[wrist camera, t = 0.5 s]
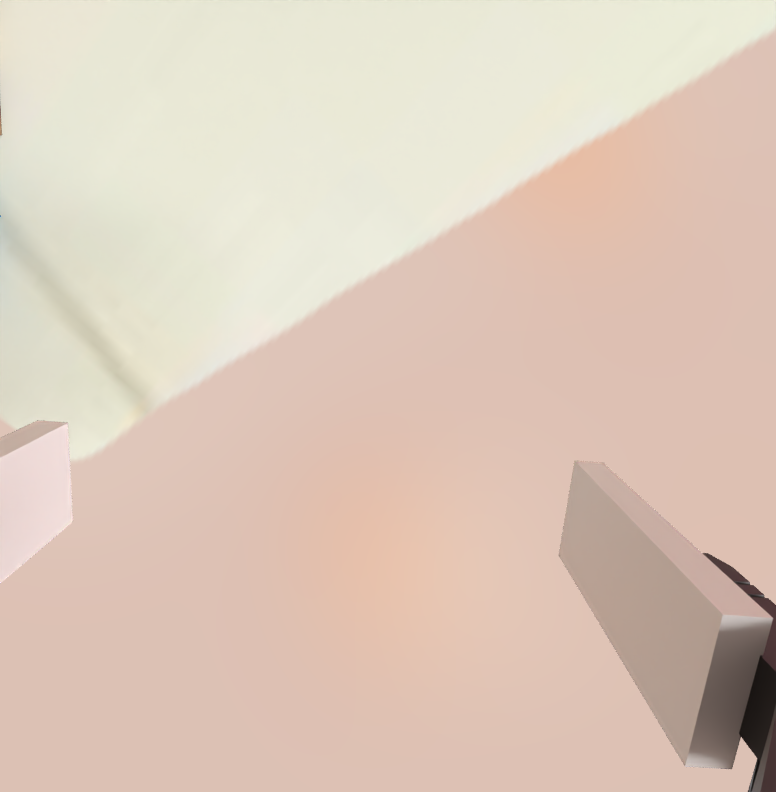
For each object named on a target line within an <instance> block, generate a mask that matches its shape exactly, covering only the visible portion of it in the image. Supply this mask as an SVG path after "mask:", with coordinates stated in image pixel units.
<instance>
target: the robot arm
mask: <svg viewBox="0 0 776 792" xmlns="http://www.w3.org/2000/svg"><path fill="white" fill-rule="evenodd" d="M71 494H72V493H71V473H70V454H69V435H68V423H65V422H51V421H38V420H37V421H35V422H33V423H31V424H29V425H27V426H25V427H22V428H20V429H18V430H16V431H14V432H12V433H10V434H7V435H5V436H3V437H1V438H0V583H1V582H2V581H4V580H5V579H6V578H7V577H8V576H10V575H11V574H12V573H13V572H14V571H16V570H17V569H18V568H19V567H20V566H21V565H23V564H24V563H25V562H26V561H27V560H29V559H30V558H31V557H32V556H33V555H34V554H36V553H37V552H38V551H39V550H40V549H41V548H43V547H44V546H45V545H46V544H47V543H49V542H50V541H51V540H52V539H53V538H54V537H55V536H57V535H58V534H59V533H60V532H61V531H63V530H64V529H65V528H66V527H67V526H69V525H70V524H71V523H72V522H73V512H72V495H71ZM559 557H560V558H561V560H562V562H563V563H564V565H565V567H566V568H567V570H568V572H569V573H570V575H571V577H572V578H573V580H574V582H575V584H576V585H577V587H578V588H579V590H580V592H581V594H582V595H583V597H584V598H585V600H586V602H587V604H588V605H589V607H590V608H591V610H592V612H593V613H594V615H595V617H596V619H597V620H598V622H599V623H600V625H601V627H602V629H603V630H604V632H605V634H606V635H607V637H608V639H609V640H610V642H611V644H612V645H613V647H614V649H615V650H616V652H617V654H618V655H619V657H620V659H621V660H622V662H623V664H624V665H625V667H626V669H627V670H628V672H629V674H630V675H631V677H632V679H633V680H634V682H635V684H636V685H637V687H638V689H639V690H640V692H641V694H642V695H643V697H644V699H645V700H646V702H647V704H648V705H649V707H650V709H651V710H652V712H653V714H654V715H655V717H656V719H657V720H658V722H659V724H660V725H661V727H662V729H663V730H664V732H665V734H666V736H667V737H668V739H669V741H670V742H671V744H672V745H673V747H674V749H675V751H676V752H677V754H678V755H679V757H680V759H681V761H682V762H683V764H684V766H686V767H703V768H704V767H705V768H721V769H732V767H733V763H734V760H735V756H736V752H737V749H738V745H739V741H740V738H741V737H742V738H743V740H744V741H745V742H746V744H747V745H748V746H749V748H750V749H751V750H752V752H753V753H754V754H755V756H756V757H757V762H756V765H755V769H754V772H753V776H752V780H751V783H750V786H749V790H748V792H776V605H775V604H774V603H773V602H772V601H771V600H769V599H768V598H765V597H764V594H763V593H761V592H760V591H759V590H758V589H757V588H756V587H755V586H753V585H750V582H749V581H748V580H747V579H745V578H744V577H743V576H742V575H741V574H740V573H739V572H737V571H736V570H735V569H734V568H733V567H731V566H729V565H728V564H726V563H724V562H722V561H721V560H719V559H717V558H715V557H713V556H712V555H710V554H708V553H701V552H700V551H699V550H698V549H697V548H696V547H695V546H694V545H693V544H692V543H690V542H689V541H688V540H687V539H686V538H685V537H684V536H683V535H682V534H681V533H679V531H677V530H676V529H675V528H674V527H673V526H672V525H671V524H670V523H669V522H668V521H666V520H665V519H664V518H663V517H662V516H661V515H660V514H659V513H658V512H657V511H656V510H654V509H653V508H652V507H651V506H650V505H649V504H648V503H647V502H646V501H645V500H644V499H642V498H641V497H640V496H639V495H638V494H637V493H636V492H635V491H634V490H633V489H632V488H630V487H629V486H628V485H627V484H626V483H625V482H624V481H623V480H622V479H621V478H620V477H618V476H617V475H616V474H615V473H614V472H613V471H612V470H611V469H610V468H609V467H608V466H606V465H605V464H604V463H601V462H587V461H574V468H573V473H572V479H571V485H570V491H569V497H568V503H567V509H566V514H565V521H564V526H563V533H562V538H561V544H560V550H559Z"/></svg>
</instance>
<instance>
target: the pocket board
mask: <svg viewBox="0 0 776 792" xmlns="http://www.w3.org/2000/svg"><path fill="white" fill-rule="evenodd" d="M0 135H2V130H1V108H0Z"/></svg>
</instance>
